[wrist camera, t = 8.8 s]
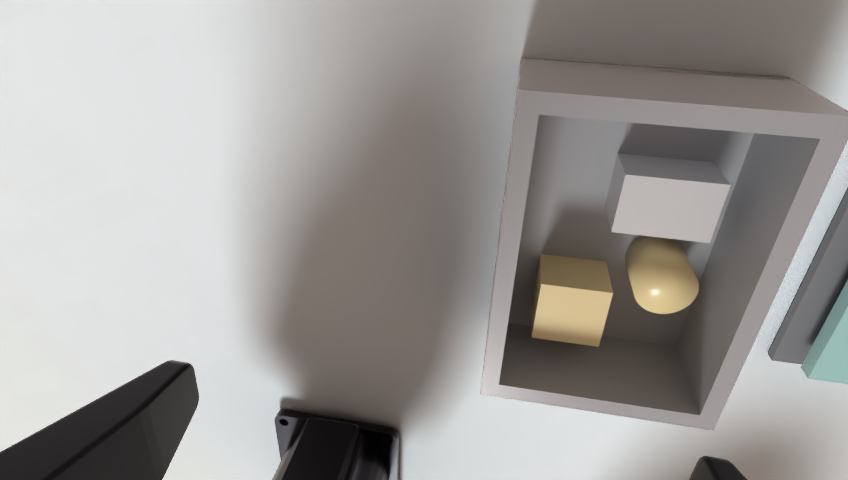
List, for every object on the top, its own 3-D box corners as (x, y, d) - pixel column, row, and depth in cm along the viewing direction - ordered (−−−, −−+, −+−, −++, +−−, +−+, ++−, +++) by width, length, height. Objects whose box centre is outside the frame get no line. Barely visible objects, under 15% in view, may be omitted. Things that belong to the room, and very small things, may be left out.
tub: (684, 351, 22) (712, 430, 18) (488, 324, 23) (480, 393, 19) (788, 77, 16) (858, 117, 13) (521, 58, 17) (518, 89, 14)
